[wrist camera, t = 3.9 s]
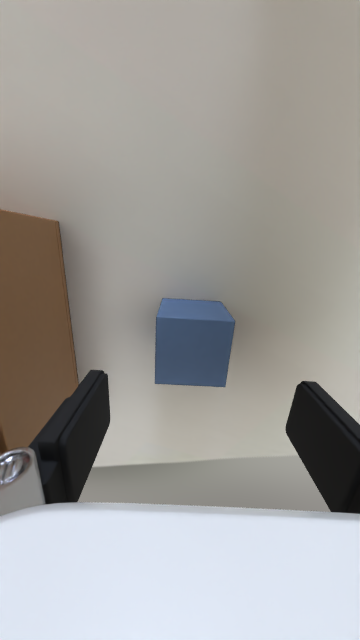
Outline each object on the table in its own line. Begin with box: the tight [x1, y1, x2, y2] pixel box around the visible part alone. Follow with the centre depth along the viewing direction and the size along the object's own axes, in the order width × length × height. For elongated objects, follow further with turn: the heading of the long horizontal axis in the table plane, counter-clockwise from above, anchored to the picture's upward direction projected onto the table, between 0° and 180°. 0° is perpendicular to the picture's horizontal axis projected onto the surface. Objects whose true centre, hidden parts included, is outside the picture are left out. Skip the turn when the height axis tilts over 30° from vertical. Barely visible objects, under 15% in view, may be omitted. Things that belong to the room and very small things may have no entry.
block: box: [155, 298, 235, 387], centre depth 16 cm, size 5×5×5 cm
